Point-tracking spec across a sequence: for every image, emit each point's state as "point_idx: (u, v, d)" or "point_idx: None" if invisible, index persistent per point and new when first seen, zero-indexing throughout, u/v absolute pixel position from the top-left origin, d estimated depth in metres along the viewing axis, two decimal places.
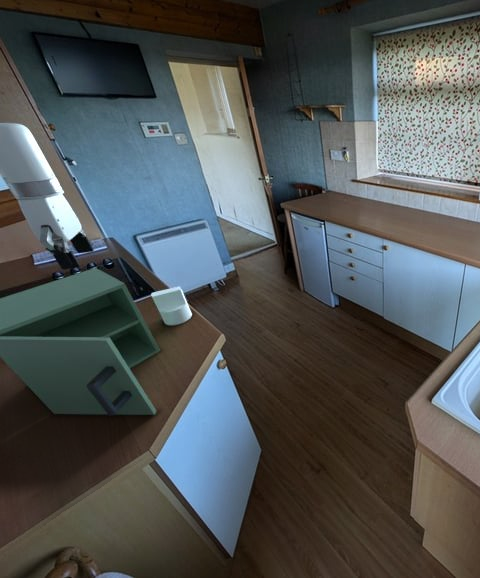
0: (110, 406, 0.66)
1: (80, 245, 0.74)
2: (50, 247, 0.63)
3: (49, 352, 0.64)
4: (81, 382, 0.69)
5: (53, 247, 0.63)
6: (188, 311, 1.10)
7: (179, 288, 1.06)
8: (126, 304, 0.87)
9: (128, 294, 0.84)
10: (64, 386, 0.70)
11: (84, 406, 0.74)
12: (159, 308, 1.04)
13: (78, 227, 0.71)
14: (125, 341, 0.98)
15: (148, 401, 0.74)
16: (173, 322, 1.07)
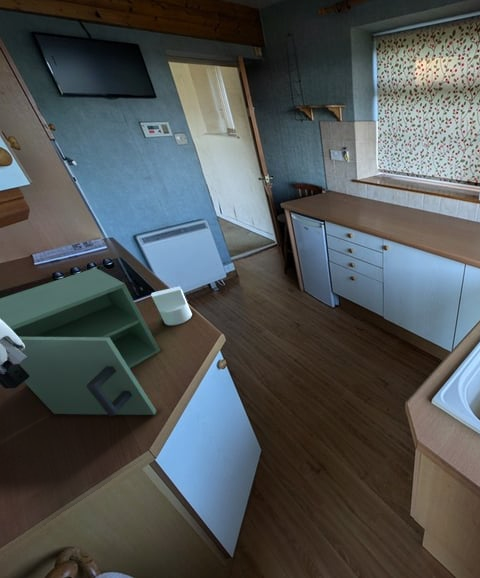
0: (110, 406, 0.66)
1: None
2: None
3: (49, 352, 0.64)
4: (81, 382, 0.69)
5: None
6: (188, 311, 1.10)
7: (179, 288, 1.06)
8: (126, 304, 0.87)
9: (128, 294, 0.84)
10: (64, 386, 0.70)
11: (84, 406, 0.74)
12: (159, 308, 1.04)
13: None
14: (125, 341, 0.98)
15: (148, 401, 0.74)
16: (173, 322, 1.07)
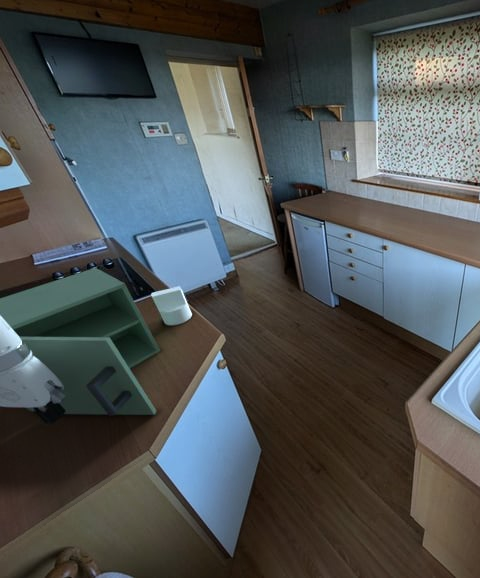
0: (110, 406, 0.66)
1: None
2: None
3: (49, 352, 0.64)
4: (81, 382, 0.69)
5: None
6: (188, 311, 1.10)
7: (179, 288, 1.06)
8: (126, 304, 0.87)
9: (128, 294, 0.84)
10: (64, 386, 0.70)
11: (84, 406, 0.74)
12: (159, 308, 1.04)
13: None
14: (125, 341, 0.98)
15: (148, 401, 0.74)
16: (173, 322, 1.07)
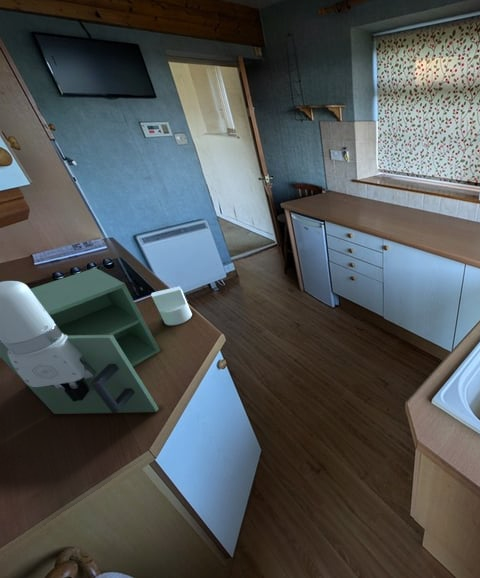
0: (114, 403, 0.67)
1: None
2: None
3: None
4: (83, 380, 0.70)
5: None
6: (188, 311, 1.10)
7: (179, 288, 1.06)
8: (126, 304, 0.87)
9: (128, 294, 0.84)
10: None
11: (85, 405, 0.74)
12: (159, 308, 1.04)
13: None
14: (125, 341, 0.98)
15: (150, 398, 0.75)
16: (173, 322, 1.07)
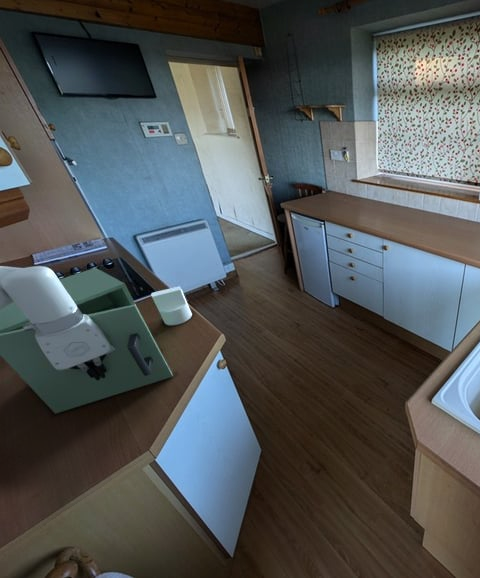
0: (146, 365, 0.76)
1: None
2: None
3: None
4: None
5: None
6: (188, 311, 1.10)
7: (179, 288, 1.06)
8: (126, 304, 0.87)
9: (128, 294, 0.84)
10: (76, 372, 0.74)
11: (96, 390, 0.78)
12: (159, 308, 1.04)
13: None
14: None
15: (166, 364, 0.85)
16: (173, 322, 1.07)
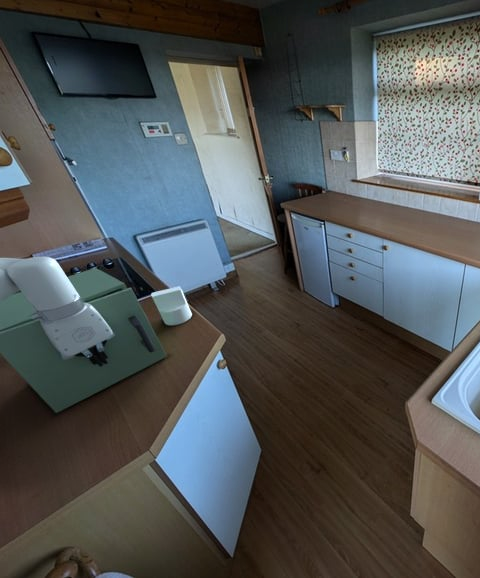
0: (152, 342, 0.84)
1: None
2: None
3: None
4: None
5: None
6: (188, 311, 1.10)
7: (179, 288, 1.06)
8: None
9: None
10: (78, 364, 0.76)
11: (97, 381, 0.81)
12: (159, 308, 1.04)
13: None
14: None
15: (160, 344, 0.91)
16: (173, 322, 1.07)
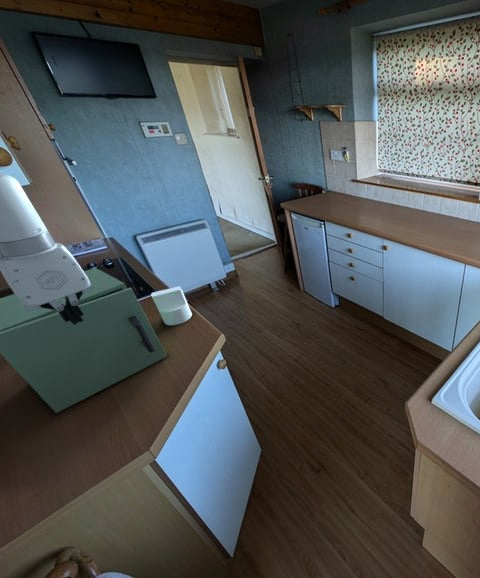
0: (152, 342, 0.84)
1: None
2: None
3: (69, 324, 0.72)
4: (99, 348, 0.79)
5: None
6: (188, 311, 1.10)
7: (179, 288, 1.06)
8: None
9: None
10: (78, 364, 0.76)
11: (97, 381, 0.81)
12: (159, 308, 1.04)
13: None
14: None
15: (160, 344, 0.91)
16: (173, 322, 1.07)
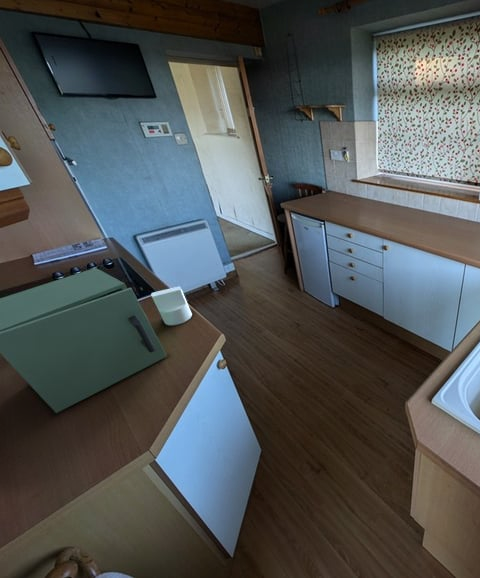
0: (152, 342, 0.84)
1: None
2: None
3: (69, 324, 0.72)
4: (99, 348, 0.79)
5: None
6: (188, 311, 1.10)
7: (179, 288, 1.06)
8: None
9: None
10: (78, 364, 0.76)
11: (97, 381, 0.81)
12: (159, 308, 1.04)
13: None
14: None
15: (160, 344, 0.91)
16: (173, 322, 1.07)
